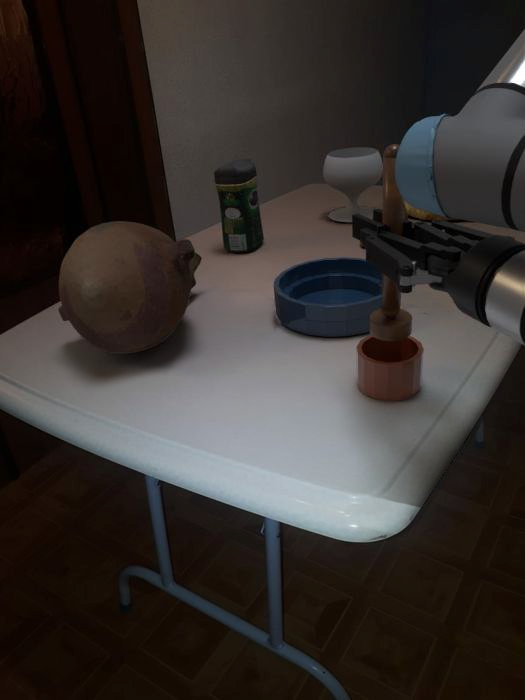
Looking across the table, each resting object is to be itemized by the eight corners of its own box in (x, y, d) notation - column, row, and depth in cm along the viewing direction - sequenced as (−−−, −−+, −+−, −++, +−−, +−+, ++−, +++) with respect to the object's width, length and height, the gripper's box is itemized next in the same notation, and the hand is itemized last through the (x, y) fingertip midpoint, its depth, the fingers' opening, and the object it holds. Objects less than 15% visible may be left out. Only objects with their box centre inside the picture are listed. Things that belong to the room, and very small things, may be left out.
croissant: (391, 230, 135) (385, 205, 129) (403, 200, 139) (398, 175, 133) (482, 236, 124) (480, 209, 118) (493, 204, 128) (492, 177, 122)
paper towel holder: (415, 324, 69) (423, 138, 58) (407, 343, 65) (414, 149, 54) (375, 320, 71) (376, 140, 60) (364, 338, 67) (363, 149, 56)
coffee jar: (237, 238, 130) (227, 156, 120) (268, 240, 127) (260, 155, 117) (218, 253, 122) (206, 166, 113) (251, 255, 119) (241, 166, 110)
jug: (144, 387, 77) (229, 323, 103) (156, 250, 69) (245, 218, 95) (24, 347, 82) (134, 295, 109) (22, 215, 74) (142, 194, 100)
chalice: (394, 212, 136) (395, 148, 128) (358, 228, 128) (357, 161, 121) (349, 204, 145) (348, 144, 138) (313, 219, 137) (310, 156, 130)
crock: (425, 376, 73) (428, 336, 70) (414, 410, 67) (416, 368, 64) (366, 367, 76) (366, 329, 73) (349, 400, 70) (349, 359, 67)
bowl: (408, 294, 95) (409, 261, 92) (381, 350, 80) (381, 312, 77) (301, 284, 103) (299, 254, 100) (258, 333, 88) (254, 299, 85)
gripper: (438, 352, 47) (310, 266, 66) (575, 307, 51) (417, 239, 70) (444, 269, 43) (306, 203, 62) (591, 228, 47) (420, 179, 67)
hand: (365, 222), depth 66 cm, fingers closed on paper towel holder, 2 cm apart
